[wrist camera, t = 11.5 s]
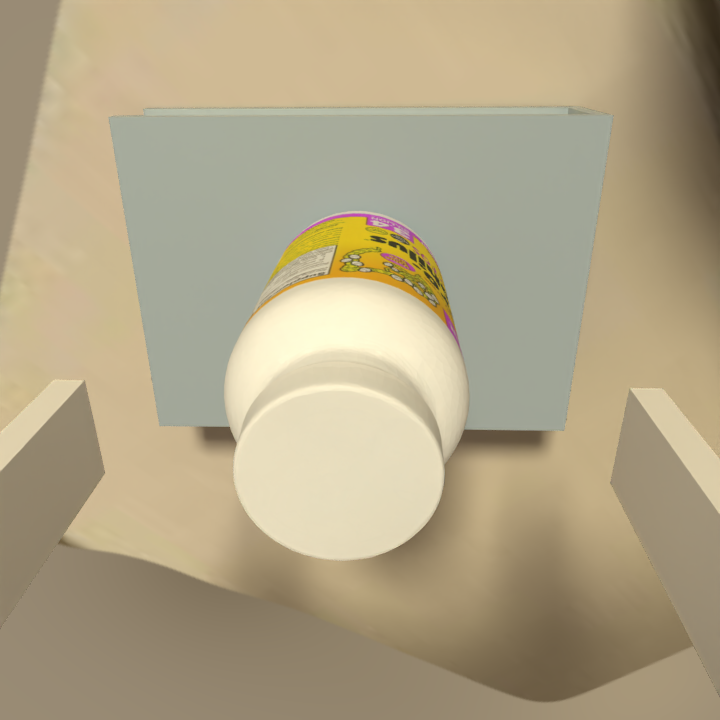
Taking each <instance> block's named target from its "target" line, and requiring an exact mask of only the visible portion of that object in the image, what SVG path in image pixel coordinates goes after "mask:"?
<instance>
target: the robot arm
mask: <svg viewBox="0 0 720 720" xmlns="http://www.w3.org/2000/svg"><path fill="white" fill-rule="evenodd" d="M104 474H105V470H104V465H103V461H102V456H101V452H100V447H99V443H98V438H97V434H96V429H95V424H94V420H93V415H92V411H91V406H90V402H89V397H88V393H87V388H86V384H85V380H53V381H52V382H51V383H50V384H49V385H48V386H47V387H46V388H45V389H44V390H43V391H42V392H41V393H40V394H39V395H38V396H37V397H36V398H35V399H34V400H33V401H32V402H31V403H30V404H29V405H28V406H27V407H26V408H25V409H24V410H23V411H22V412H21V413H20V414H19V415H18V416H17V417H16V418H15V419H14V420H13V421H12V422H11V423H10V424H9V425H8V426H7V427H5V428H4V429H3V430H2V431H1V432H0V628H1V627H2V625H3V624H4V622H5V621H6V619H7V618H8V616H9V615H10V613H11V612H12V611H13V609H14V608H15V606H16V604H17V603H18V602H19V600H20V599H21V597H22V596H23V594H24V593H25V591H26V590H27V588H28V587H29V585H30V584H31V582H32V581H33V579H34V578H35V576H36V575H37V573H38V572H39V570H40V569H41V567H42V566H43V564H44V563H45V561H46V560H47V559H48V557H49V555H50V554H51V552H52V551H53V549H54V548H55V547H56V545H57V544H58V542H59V541H60V539H61V538H62V536H63V535H64V533H65V532H66V530H67V529H68V527H69V526H70V524H71V523H72V521H73V520H74V518H75V517H76V515H77V514H78V512H79V511H80V509H81V508H82V506H83V505H84V503H85V502H86V501H87V499H88V498H89V496H90V495H91V493H92V492H93V490H94V489H95V487H96V486H97V484H98V483H99V481H100V480H101V478H102V477H103V475H104ZM610 483H611V485H612V487H613V489H614V491H615V493H616V495H617V497H618V499H619V501H620V503H621V505H622V507H623V509H624V511H625V513H626V515H627V517H628V519H629V521H630V523H631V525H632V526H633V528H634V530H635V532H636V534H637V536H638V538H639V540H640V542H641V544H642V546H643V548H644V550H645V552H646V554H647V556H648V558H649V560H650V562H651V564H652V566H653V568H654V570H655V571H656V573H657V575H658V577H659V579H660V581H661V583H662V585H663V587H664V589H665V591H666V593H667V595H668V597H669V599H670V601H671V603H672V605H673V607H674V609H675V611H676V613H677V614H678V616H679V618H680V620H681V622H682V624H683V626H684V628H685V630H686V632H687V634H688V636H689V638H690V640H691V642H692V644H693V646H694V648H695V650H696V651H697V653H698V656H699V657H700V659H701V661H702V663H703V665H704V667H705V669H706V671H707V673H708V675H709V677H710V679H711V681H712V683H713V685H714V687H715V689H716V691H717V693H718V695H719V696H720V459H719V458H718V456H717V455H716V454H715V453H714V451H713V450H712V449H711V448H710V446H709V445H708V444H707V443H706V442H705V440H704V439H703V438H702V437H701V435H700V434H699V433H698V432H697V430H696V429H695V428H694V427H693V425H692V424H691V423H690V422H689V421H688V419H687V418H686V417H685V416H684V414H683V413H682V412H681V411H680V409H679V408H678V407H677V406H676V404H675V403H674V402H673V401H672V400H671V398H670V397H669V396H668V395H667V393H666V392H665V391H664V390H663V388H630V389H629V393H628V398H627V403H626V408H625V413H624V418H623V423H622V428H621V433H620V438H619V442H618V447H617V452H616V457H615V462H614V467H613V472H612V477H611V482H610Z"/></svg>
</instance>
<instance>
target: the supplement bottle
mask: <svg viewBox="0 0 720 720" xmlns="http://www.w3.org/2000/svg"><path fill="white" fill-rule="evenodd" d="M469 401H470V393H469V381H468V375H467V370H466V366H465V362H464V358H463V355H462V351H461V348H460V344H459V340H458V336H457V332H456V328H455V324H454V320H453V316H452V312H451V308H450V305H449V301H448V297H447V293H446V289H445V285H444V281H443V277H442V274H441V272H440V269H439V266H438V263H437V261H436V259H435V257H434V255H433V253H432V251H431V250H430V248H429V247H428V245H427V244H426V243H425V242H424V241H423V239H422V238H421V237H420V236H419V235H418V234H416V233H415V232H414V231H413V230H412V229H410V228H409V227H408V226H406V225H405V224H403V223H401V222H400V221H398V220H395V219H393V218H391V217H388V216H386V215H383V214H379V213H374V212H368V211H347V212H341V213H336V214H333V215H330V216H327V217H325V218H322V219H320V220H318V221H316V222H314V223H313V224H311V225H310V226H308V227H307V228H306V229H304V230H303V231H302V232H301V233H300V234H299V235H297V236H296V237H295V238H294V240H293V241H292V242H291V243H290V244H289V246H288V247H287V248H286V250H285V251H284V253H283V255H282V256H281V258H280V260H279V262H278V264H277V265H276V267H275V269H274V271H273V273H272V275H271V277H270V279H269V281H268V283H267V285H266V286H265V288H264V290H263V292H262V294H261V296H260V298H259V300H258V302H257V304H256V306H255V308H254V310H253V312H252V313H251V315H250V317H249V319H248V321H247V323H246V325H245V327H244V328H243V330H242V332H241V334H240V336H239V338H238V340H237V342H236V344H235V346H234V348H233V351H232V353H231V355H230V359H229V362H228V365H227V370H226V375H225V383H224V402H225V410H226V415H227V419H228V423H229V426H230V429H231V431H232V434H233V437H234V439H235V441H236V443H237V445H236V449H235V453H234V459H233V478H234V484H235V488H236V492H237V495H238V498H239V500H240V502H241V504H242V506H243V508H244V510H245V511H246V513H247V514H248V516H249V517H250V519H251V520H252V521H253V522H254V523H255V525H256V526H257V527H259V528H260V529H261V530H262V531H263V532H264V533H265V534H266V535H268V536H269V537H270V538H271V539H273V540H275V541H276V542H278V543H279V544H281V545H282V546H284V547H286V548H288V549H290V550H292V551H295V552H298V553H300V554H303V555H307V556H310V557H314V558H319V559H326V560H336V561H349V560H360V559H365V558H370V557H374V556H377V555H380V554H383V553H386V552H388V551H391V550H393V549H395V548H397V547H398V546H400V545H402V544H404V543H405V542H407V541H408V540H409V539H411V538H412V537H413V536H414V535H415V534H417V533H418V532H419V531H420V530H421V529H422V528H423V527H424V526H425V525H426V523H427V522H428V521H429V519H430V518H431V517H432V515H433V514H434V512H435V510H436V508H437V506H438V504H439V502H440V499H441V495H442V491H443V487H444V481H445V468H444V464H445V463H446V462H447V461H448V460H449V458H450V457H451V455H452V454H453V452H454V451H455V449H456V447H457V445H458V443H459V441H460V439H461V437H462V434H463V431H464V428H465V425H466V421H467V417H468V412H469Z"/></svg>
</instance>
